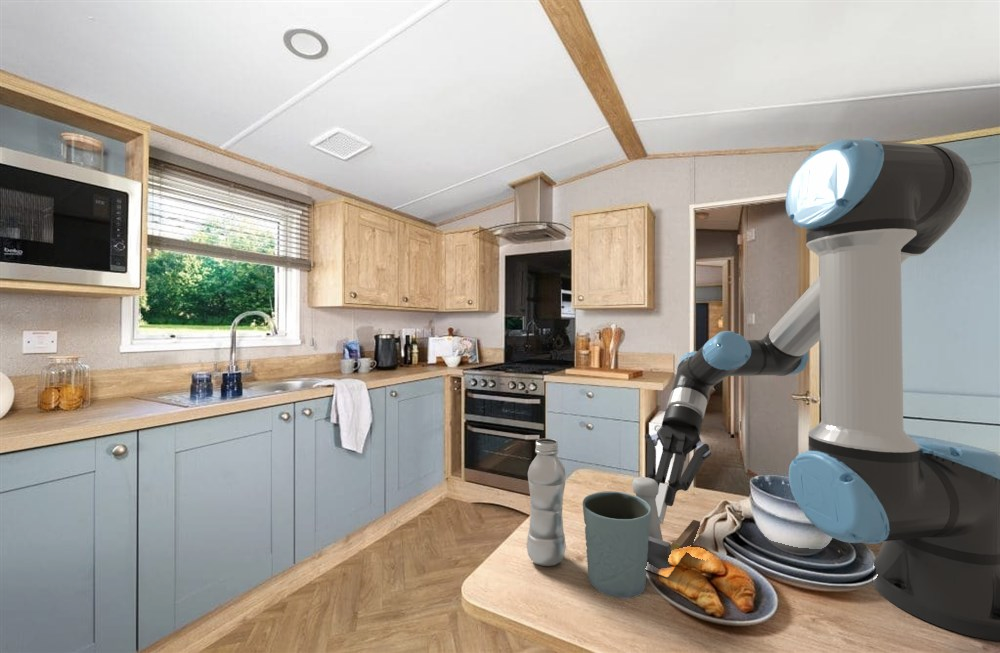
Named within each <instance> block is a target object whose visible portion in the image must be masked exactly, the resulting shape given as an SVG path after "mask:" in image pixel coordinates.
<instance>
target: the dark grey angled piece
mask: <svg viewBox="0 0 1000 653" xmlns="http://www.w3.org/2000/svg"><path fill="white" fill-rule="evenodd" d="M699 527H700V528H701V521H699V520H696V519H693V520H692V521H691V522H690V523H689V524H688V526H687V527H686V528H685V529H684V530H683V531H682V532H681V533H680V535H679V536H678V538H677V539H676V540H675V541H672V543H671V542H668V541H665V540H660V539H657V538H654V537H651V536H648V537H649V541H648V554H647V556H648V559H647V562H649V564H651V565H653V566H654V567H656V568H658V569H661V568H667V567H670V564H669V562H668V558H669V555H670V554H671V551H672V550H674V549H679V548H683V547H687V546H690V545H692V546H693V545H694V544H693V542H694V539H695V537H696V534H697V531H698V529H699ZM694 543H695V542H694Z"/></svg>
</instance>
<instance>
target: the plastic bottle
mask: <svg viewBox="0 0 1000 653" xmlns="http://www.w3.org/2000/svg"><path fill="white" fill-rule="evenodd" d="M558 442H559V441H558V440H557V439H555V438H554V439H553V438H539V439H537V440H535V450H534V452H535V454H536V456H535V457H534V459H533V460H532V461H531V463H530V464H529V467H528V470H527V481H528V488H529V496H530V497H529V498H530V500H529V501H530V502H529V504H530V515H529V516H530V518H529V528H528V534H527V539H526V549H527V550H526V552H527V556H528V557H529V559H530V560H531V561H532V563H534V564H536V565H537V566H542V567H552V566H556V565H558V564H560V563H561V562H562V560H563V559H564V557H565V555H566V550H567V549H566V548H567V542H566V536H565V532H564V520H563V519H564V518H563V508H564V507H563V505H564V504H563V503H564V493H565V487H566V480H567V472H566V467H565V466H564V464H563V462H562V461H561V459H560V458H559V457H558V454H559V448H558V447H559V446H558V445H559V444H558Z"/></svg>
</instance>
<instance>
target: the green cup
mask: <svg viewBox="0 0 1000 653" xmlns="http://www.w3.org/2000/svg"><path fill="white" fill-rule="evenodd" d="M582 510H583V521H584V524H585V526H584V527H585V528H584V533H585V547H586V558H587V559H586V562H587V577H588V580H589V582H590V584H591V586H592V587H593V588H594V589H595V590H597V591H598V592H599V593H602V594H604V595H606V596H609V597H612V598H616V599H617V598H618V599H632V598H636V597H638V596H640V595H642V594H643V592H644V591H645V588H646V584H647V582H646V581H647V571H646V569H645V568H646V566H647V559H648V556H647V554H648V541H649V537H648V536H649V527H650V518H651V507H650V505H649V504H648V503H647V502H646V501H644V500H643V499H641V498H639V497H637V496H636V495H634V494H630V493H627V492H623V491H616V490H615V491H613V490H609V491H608V490H606V491H598V492H594V493H590V494H588V495H587V496H585V497H584V498H583V499H582Z"/></svg>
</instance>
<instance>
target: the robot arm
mask: <svg viewBox="0 0 1000 653" xmlns="http://www.w3.org/2000/svg"><path fill="white" fill-rule="evenodd" d="M970 170H971V169H970V167H969V166H968V164H967V162H966V160H964V159H963V158H962V157H961V156H960V155H959V154H958V153H957V152H954V151H953V150H951V149H949V148H947V147H943V146H942V145H941V146H940V145H937V144H930V143H929V144H927V143H926V144H924V143H922V144H919V143H917V144H916V143H907V142H893V141H883V140H880V141H879V140H876V139H873V138H868V137H866V138H859V139H840V140H835V141H833V142H830V143H828V144H827V143H826V144H825V145H823V146H821V147H820V148H818V149H817V150H815V151H813V153H811V154H810V155H808V157H807V158H806V159H805V160H804V161H803V162H802V163H801V165H800V167H799V168H798V170H797V171H795V173H794V175H793V176H792V179H791V180H790V182H789V185H788V188H787V191H786V196H785V211H786V214H787V217H788V218H789V219H790V220H791V221H792V222H793V224H794V225H796V226H798V227H800V228H801V229H805V243H806V244H805V245H806V248H807V249H808V250H809V251H812V252H813V253H814V254H816V255H817V257H818V260H819V262H818V263H819V264H818V265H819V266H818V268H819V275H818V277H817V278H816V279H815V280H814V281H813V282H812V283H811V285H810V286H809V287H808V288H807V289H806V291H805V292H804V293H803V294H802V295H801V296H800V297H799V298H798V299H797V301H795V303H793V305H792V306H791V307H790V308H789V309H788V310H787V312H785V314H784V315H782V317H781V318H780V319H779V320H778V321H777V323H776V324H775V325H774V326H773V327H772V328H771V329H770V330H769V331H768V332H767V334H766V335H764V337H763V338H762V339H746V338H745V337H744V336H743V335H741V334H739V333H736V332H734V331H732V330H731V331H730V330H723V331H720V332H718V333H716V334H715V335H714V336H713V337H712V338H709V339H708V340H707V341H706V342H705V343H704V344H703V345H702V346H701V347H700V349H698V350H695V351H694V350H693V351H691V352H686V353H685V354H683V355H682V356H681V358H680V361H679V363H678V364H677V368H676V374H675V377H674V381H673V385H672V389H671V392H670V395H669V398H668V401H667V404H666V409H665V412H664V415H663V418H662V422H661V426H660V428H658V430H656V431H657V432H656V433H653V434H649V433H645V435H644V439H645V442H646V446H647V447H646V476H647V478H651V479H653V480H655V481H656V482H657V483H658V487H659V492H658V495H656V496H655V500H656V506H657V511H658V517H659V522H660V524H662V525H663V524H664V521H665V517H666V512H667V509H668V507H673V505H674V503H675V499H676V495H677V492H678V491H684V492H687V491H689V489H690V486H691V485H692V483H693V481H694V479H695V477H696V476H697V474H698V472H699V470H700V468H701V467H702V465H703V462H704V461H705V460H706V459H707V458H709V457H710V456H711V455H712V451H711V448H710V446H709V444H707V443H703V442H702V439H701V436H700V435H701V432H702V427H703V422H704V420H703V419H704V418H705V414H706V410H707V405H708V402H709V400H708V399H709V396H710V392H711V389H712V388H713V387H715V385H718V384H719V383H720V382H721V381H722V380H725V378H727V377H746V376H747V377H750V376H776V377H777V376H778V377H779V376H780V377H784V376H785V377H786V376H789V375H796V374H799V373H801V372H803V371H804V370H805V368H806V367H807V363H808V361H809V353H808V352H809V351H810V350H811V349H812V348H813V347H814V346H815V345H816V344H817V343H818V342H820V347H819V350H820V353H819V354H820V418H821V420H820V422H819V423H818V424H817V425H815V426H814V427H812V428H811V429H810V430H808V431H807V433H808V434H807V435H808V443H807V444H808V450H807V451H805V452H803V451H802V452H801V453H799V454H797V455H796V456H795V459H793V460H791V463H790V464H789V467H788V468H789V469H788V483H789V486H790V491H791V494H792V496H793V499H794V500H795V503H796V504H797V505H798V508H799V509H800V510H802V512H803V514H804V516H805V517H806V519H808V520H809V522H810V523H811V524H813V526H815V527H816V528H817V529H818V530H820V531H821V532H822V533H823V534H825V535H827V536H828V537H830V538H833V539H835V540H838V541H840V542H843V543H851V544H857V543H858V544H860V543H861V544H863V543H864V544H870V545H878V544H881V543H882V545H881V546H880V549H879V551H878V552H877V555H875V556H876V557H875V558H874V560H873V562H874V566H875V568H876V574H878V576H877V578H876V579H875V581H874V582H873V583H872V585H873V587H874V588H875V589H876V590H877V592H878V593H879V594H880V596H883V598H885V599H886V600H887V601H889V602H891V603H892V604H893V605H895V606H897V607H898V608H900V609H901V610H903V611H905V612H907V613H909V614H911V615H912V616H915V617H917V618H919V619H921V620H923V621H926V622H927V623H929V624H933V625H935V626H937V627H940V628H943V629H945V630H949V631H951V632H954V633H958V634H962V635H966V636H969V637H973V638H978V639H983V640H988V641H995V642H996V641H997V642H1000V455H999V454H997V453H996V452H994V451H990V450H988V449H984V448H982V447H981V448H980V447H977V446H973V445H969V444H963V443H960V442H955V441H949V440H945V439H940V438H934V437H928V436H922V435H917V434H909V433H906V432H905V430H904V387H903V385H904V384H903V380H904V379H903V375H904V374H903V373H904V372H903V321H902V320H903V315H902V314H903V311H902V310H903V309H902V300H903V299H902V264H903V263H904V262H905V261H906V260H907V259H908V258H910V257H916V256H921V255H924V254H925V253H926V251H927V250H929V249H930V248H931V247H932V246H933V245H934V244H935V243H937V242H938V241H939V240H940V239H941V238H942V237H943V235H945V234H946V232H948V230H949V229H950V228H951V227H952V226H953V224H955V222H956V221H957V220H958V218H959V216H960V215H961V214H962V213H963V211H964V209H965V207H966V205H967V202H968V200H969V198H970V195H971V192H972V181H973V180H972V173H971V171H970ZM658 442H660V444H661V446H662V451H661V452H662V453H661V456H660V458H659V459H660V460H659V462H658V467H657V449H656V447H657V445H658ZM694 450H695V452H694V453H693V454H692V457H691V459H690V461H689V462H688V464H687V466H686V467H685V468H684V464H685V462H686V460H687V456H688V454H690V453H691V452H692V451H694ZM674 455H675V456H674ZM673 457H674V459H673ZM672 459H673V463H672V467H671V469H670V470H671V471H670V475H669V479H667V476H668V474H669V468H670V464H671V461H672ZM684 469H685V470H684ZM683 470H684V471H683ZM666 480H667V483H668V484H665V483H666Z"/></svg>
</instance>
